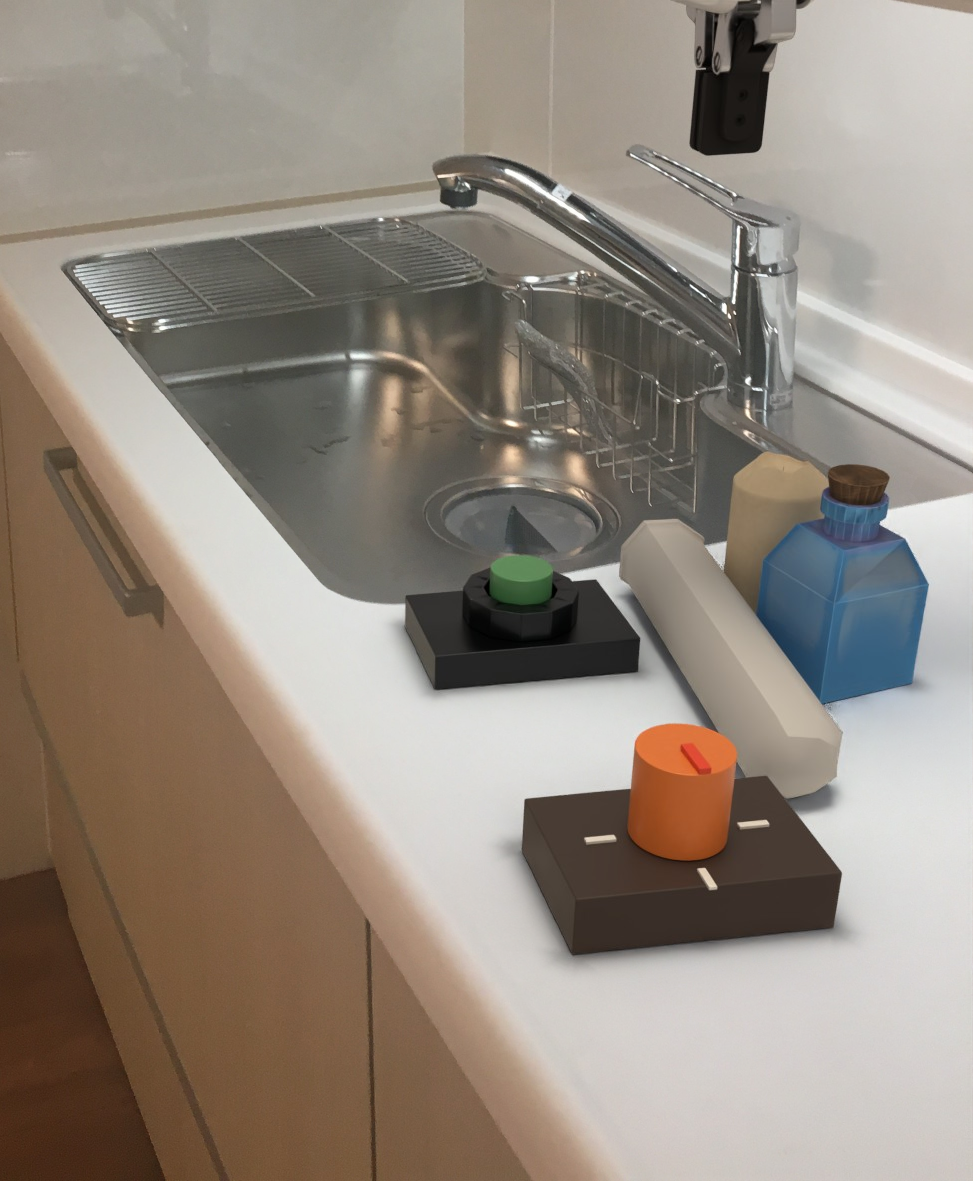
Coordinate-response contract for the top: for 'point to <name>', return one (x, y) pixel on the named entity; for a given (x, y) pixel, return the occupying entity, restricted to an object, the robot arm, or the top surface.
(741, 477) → the candle
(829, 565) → the perfume bottle
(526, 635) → the button housing
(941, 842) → the top surface
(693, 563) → the tube
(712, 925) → the dial block
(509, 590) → the button
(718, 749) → the dial knob
